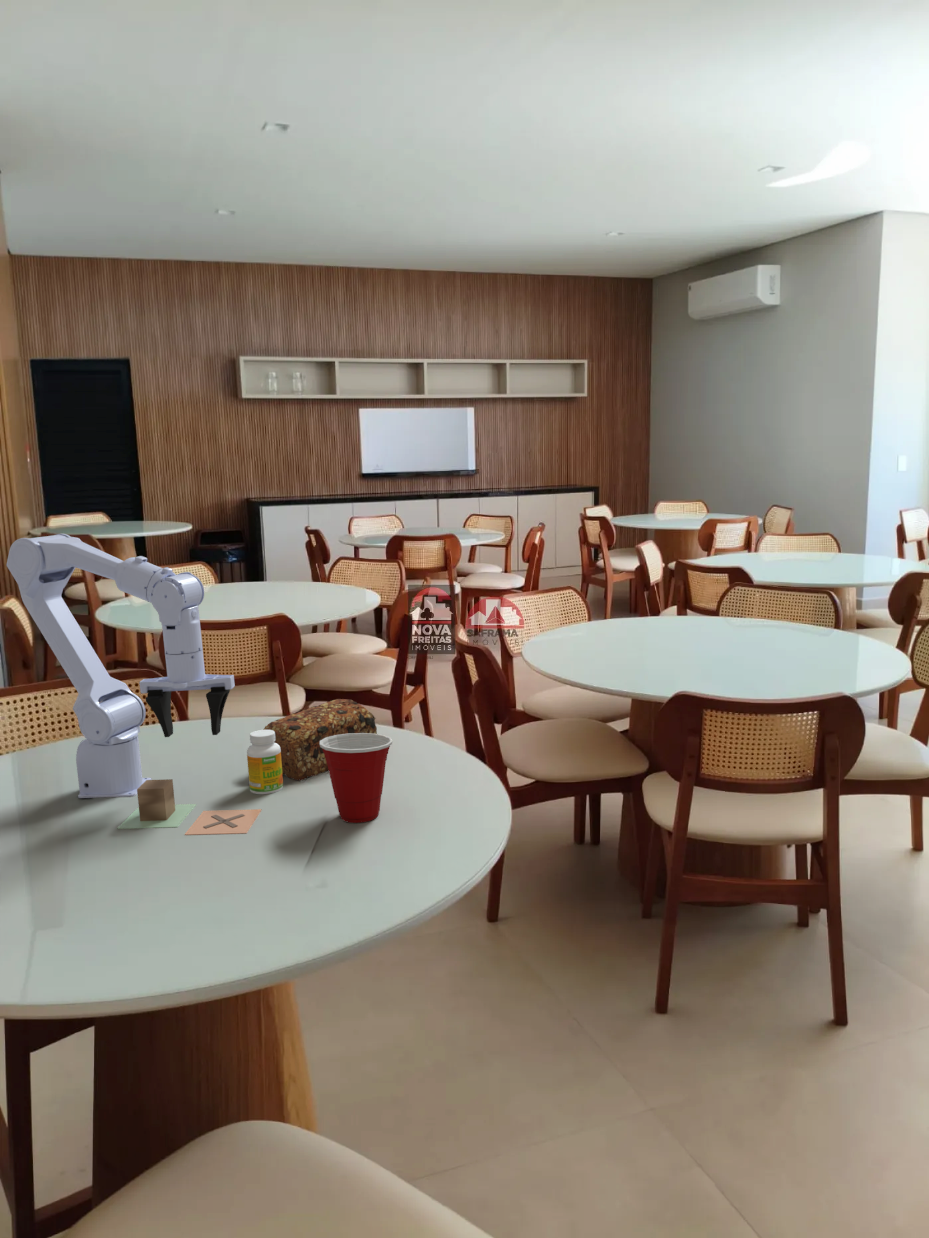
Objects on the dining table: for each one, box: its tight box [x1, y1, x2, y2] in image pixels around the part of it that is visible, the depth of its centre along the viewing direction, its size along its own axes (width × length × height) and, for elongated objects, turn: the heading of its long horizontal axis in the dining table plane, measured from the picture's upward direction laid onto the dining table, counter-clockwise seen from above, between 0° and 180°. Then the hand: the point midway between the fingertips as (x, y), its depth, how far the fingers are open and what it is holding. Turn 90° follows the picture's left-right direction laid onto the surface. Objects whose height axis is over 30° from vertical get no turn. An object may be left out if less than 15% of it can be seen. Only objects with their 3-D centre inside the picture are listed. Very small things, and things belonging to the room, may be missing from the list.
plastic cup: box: [320, 733, 393, 824], centre depth 136 cm, size 11×11×12 cm
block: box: [137, 779, 176, 821], centre depth 138 cm, size 4×4×5 cm
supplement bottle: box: [246, 729, 284, 795], centre depth 148 cm, size 5×5×10 cm
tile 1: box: [116, 803, 197, 830], centre depth 139 cm, size 9×9×1 cm
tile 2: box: [184, 808, 263, 836], centre depth 136 cm, size 9×9×1 cm
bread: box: [262, 698, 378, 781], centre depth 162 cm, size 19×11×10 cm, turn 138°
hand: (192, 734), depth 146 cm, fingers open, 7 cm apart
